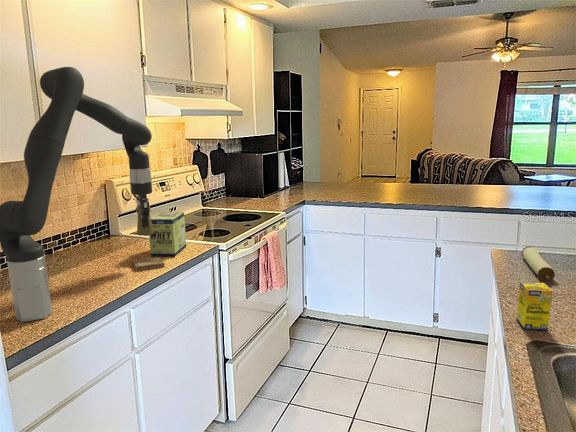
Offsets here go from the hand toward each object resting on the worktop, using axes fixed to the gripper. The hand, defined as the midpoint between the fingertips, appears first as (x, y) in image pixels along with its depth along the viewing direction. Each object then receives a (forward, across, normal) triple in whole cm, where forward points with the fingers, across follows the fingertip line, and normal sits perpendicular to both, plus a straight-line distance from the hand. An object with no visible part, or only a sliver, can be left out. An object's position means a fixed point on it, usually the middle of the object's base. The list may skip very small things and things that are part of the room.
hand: (144, 226), depth 169 cm
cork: (+3, 0, 0) cm, 3 cm away
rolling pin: (+16, +74, +121) cm, 143 cm away
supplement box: (+16, +102, +80) cm, 130 cm away
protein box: (+16, -15, +11) cm, 24 cm away
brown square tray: (+16, 0, 0) cm, 16 cm away
